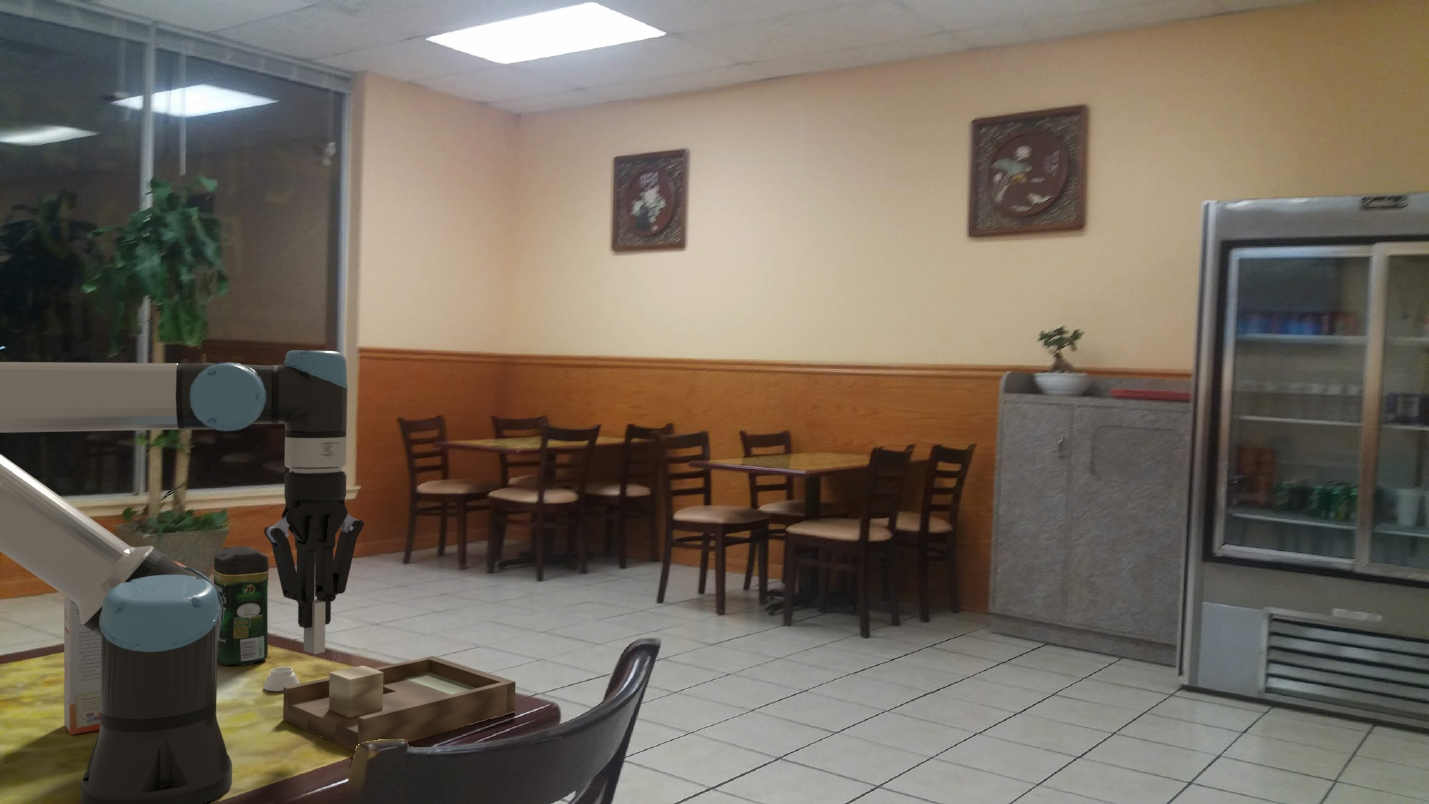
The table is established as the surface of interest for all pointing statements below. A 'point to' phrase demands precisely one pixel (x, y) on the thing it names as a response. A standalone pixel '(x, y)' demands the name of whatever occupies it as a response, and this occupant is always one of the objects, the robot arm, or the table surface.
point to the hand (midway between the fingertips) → (314, 650)
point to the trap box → (405, 703)
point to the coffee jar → (242, 605)
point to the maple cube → (356, 691)
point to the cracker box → (81, 672)
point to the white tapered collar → (280, 679)
